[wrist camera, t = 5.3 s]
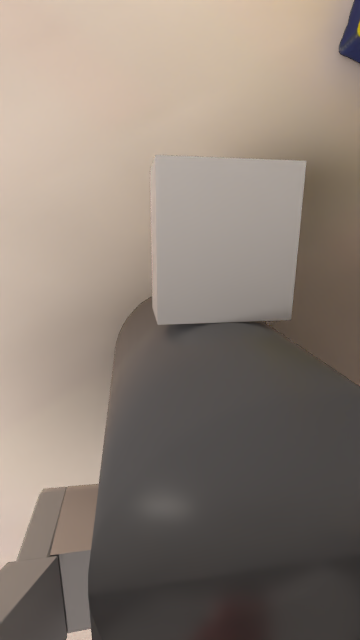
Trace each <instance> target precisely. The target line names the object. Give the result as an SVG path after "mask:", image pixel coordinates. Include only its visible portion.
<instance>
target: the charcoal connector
mask: <svg viewBox="0 0 360 640" xmlns="http://www.w3.org/2000/svg"><path fill="white" fill-rule="evenodd" d="M305 171H306V161H303V160H277V159H251V158H225V157H199V156H173V155H155V157H154V160H153V163H152V166H151V169H150V202H151V257H152V296H151V297H150V298H148V299H147V300H145V301H144V302H142V303H141V304H140V305H139V306H138V307H137V308H136V309H135V310H134V311H133V312H132V313H131V314H130V315H129V317H128V318H127V320H126V321H125V323H124V324H123V326H122V328H121V331H120V333H119V335H118V339H117V342H116V347H115V354H114V363H113V371H112V379H111V387H110V396H109V404H108V412H107V421H106V429H105V437H104V445H103V454H102V462H101V470H100V479H99V487H98V495H97V503H96V512H95V520H94V528H93V537H92V545H91V553H90V561H89V570H88V600H89V611H90V621H91V632H92V640H360V387H359V386H358V385H356V384H355V383H353V382H352V381H350V380H349V379H347V378H346V377H345V376H343V375H342V374H340V373H339V372H337V371H336V370H334V369H333V368H331V367H330V366H328V365H327V364H325V363H324V362H322V361H321V360H319V359H318V358H316V357H315V356H313V355H312V354H310V353H309V352H307V351H306V350H304V349H303V348H301V347H300V346H298V345H297V344H296V343H294V342H293V341H291V340H290V339H288V338H287V337H285V336H284V335H282V334H281V333H279V332H278V331H276V330H275V329H273V328H272V327H270V326H269V325H267V324H266V323H264V322H263V321H277V320H291V316H292V306H293V295H294V285H295V275H296V264H297V254H298V244H299V233H300V223H301V213H302V202H303V192H304V182H305Z"/></svg>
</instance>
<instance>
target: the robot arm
mask: <svg viewBox="0 0 360 640" xmlns="http://www.w3.org/2000/svg"><path fill="white" fill-rule="evenodd" d="M98 487H99V484H91V485H78V486H68V487H59V488H47V489H43V490H42V492H41V493H40V494H39V497H38V500H37V502H36V505H35V508H34V511H33V514H32V517H31V520H30V523H29V525H28V528H27V531H26V534H25V537H24V540H23V543H22V546H21V549H20V551H19V554H18V557H17V560H16V561H14V562H8V563H7V564H6V565H5V566H4V567H3V568H2V569H1V570H0V640H66V638H67V633H71V632H76V631H81V630H86V629H91V621H90V611H89V600H88V570H89V561H90V553H91V545H92V537H93V528H94V520H95V512H96V503H97V495H98Z"/></svg>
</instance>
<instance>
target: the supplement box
mask: <svg viewBox="0 0 360 640" xmlns="http://www.w3.org/2000/svg"><path fill="white" fill-rule="evenodd" d="M339 53H340V54H341V55H344V56H347V57H349V58H351V59H353V60H355V61H357V62H359V63H360V0H354V2H353V6H352V9H351V12H350V16H349V20H348V25H347V27H346V29H345V31H344V35H343V38H342V40H341V42H340V45H339Z"/></svg>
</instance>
